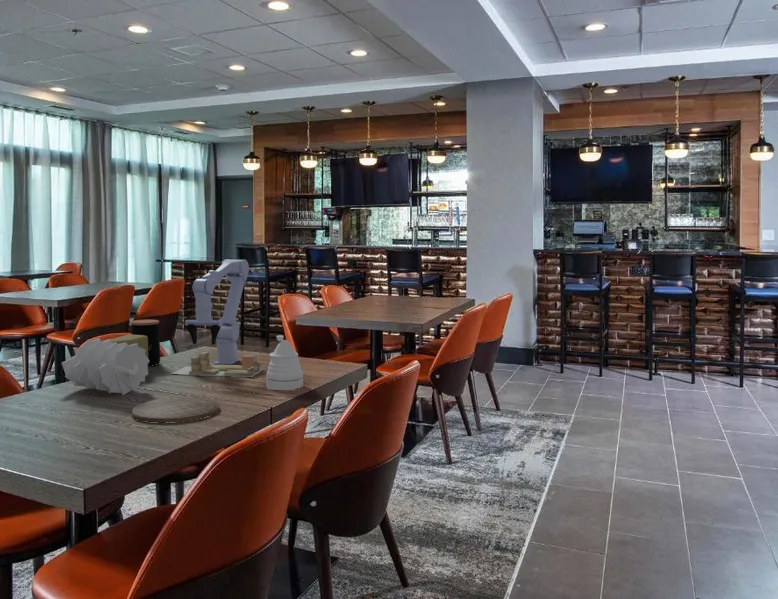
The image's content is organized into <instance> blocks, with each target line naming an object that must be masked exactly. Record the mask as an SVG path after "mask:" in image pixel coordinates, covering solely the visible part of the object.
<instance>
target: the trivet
mask: <svg viewBox="0 0 778 599" xmlns="http://www.w3.org/2000/svg"><path fill="white" fill-rule="evenodd" d="M131 410H132V418H133V417H134V418H135V419H134V418H133V419H134V420H136V419H138V420H141V421H148V422H158V423H166V422H169V423H170V422H183V421H184V423H186V422H185V421H190V420H196V419H200V418H204V417H207V416H210V415H213V414H215V413H216V412H218V413H219V411H220V403H219V401H216V400H215V399H212V398H208V397H207V398H206V397H201V396H173V397H171V396H170V397H164V398H157V399H152V400H147V401H144V402H141V403H139V404H137V405H136V406H134V407H133V408H132V409H131ZM218 410H219V411H218ZM216 414H217V413H216ZM216 414H215V415H216ZM213 416H214V415H213ZM210 417H211V416H210ZM138 420H137V421H138ZM141 421H140V422H141Z"/></svg>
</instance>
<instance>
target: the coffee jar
mask: <svg viewBox="0 0 778 599" xmlns="http://www.w3.org/2000/svg"><path fill="white" fill-rule="evenodd" d="M130 324H131V325H132V326H131V328H130V329H131V330H130V331H131V334H130V335H144V336H147V337H148V359H149V363H148V366H152V365H156V364H158V365H160V362H161V345H160V344H161V342H160V341H161V340H160V339H161V338H160V336H161V335H160V326H159V324H160V320H158V319H136V320H131V321H130ZM152 367H153V366H152Z"/></svg>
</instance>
